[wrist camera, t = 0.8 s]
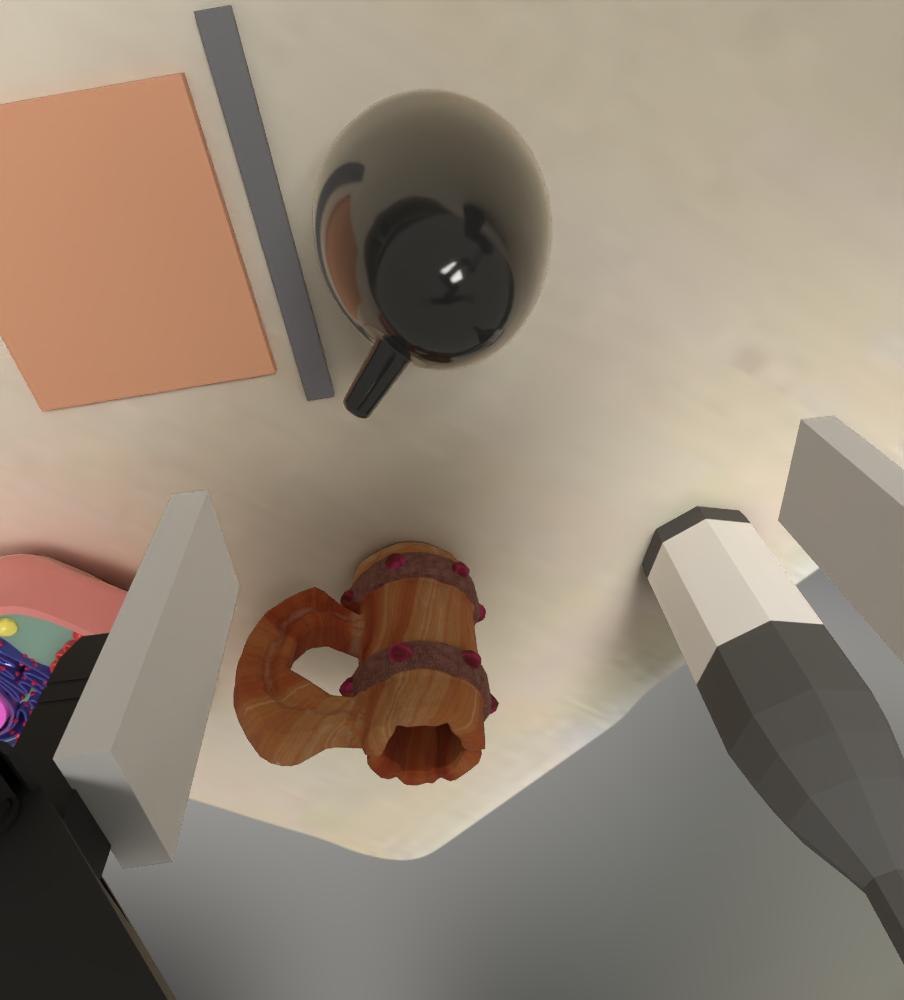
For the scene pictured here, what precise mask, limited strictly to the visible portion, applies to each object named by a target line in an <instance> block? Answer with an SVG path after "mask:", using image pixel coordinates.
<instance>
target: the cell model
mask: <svg viewBox="0 0 904 1000" xmlns="http://www.w3.org/2000/svg"><path fill="white" fill-rule="evenodd" d="M127 593H128V592H127V591H125V590H122V589H120V588H118V587H116V586H113V585H110V584H108V583H106V582H104V581H103V580H101V579H99V578H97V577H95V576H93V575H91V574H89V573H87V572H84V571H82V570H80V569H77V568H75V567H72V566H70V565H68V564H65V563H63V562H60V561H58V560H55V559H53V558H51V557H48V556H42V555H33V554H14V555H5V556H0V741H6V742H7V743H9V744H10V745H11V746H12V747H14V746H15V744H16V742H17V740H18V738H19V736H20V734H21V732H22V730H23V728H24V726H25V724H26V722H27V720H28V718H29V716H30V714H31V713H32V711H33V709H34V708H36V707H37V701H38V699H39V697H40V695H41V693H42V691H43V689H44V688H47V681H48V680H49V678H50V676H51V674H52V672H53V670H54V668H55V666H56V664H57V662H58V660H59V659H60V657H61V656H62V655H63V654H64V653H65V652H66V651H67V650H68V649H69V648H70V647H71V646H72V645H73V644H74V643H75V642H76V641H77V640H78V639H79V638H80V637H81V636H87V635H95V634H103V633H110V631H111V628H112V626H113V624H114V622H115V620H116V617H117V615H118V613H119V611H120V609H121V606H122V604H123V602H124V600H125V597H126V595H127Z"/></svg>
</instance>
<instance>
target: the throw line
mask: <svg viewBox="0 0 904 1000" xmlns="http://www.w3.org/2000/svg"><path fill="white" fill-rule="evenodd" d="M194 14H195V17H196V21H197V24H198V28H199V31H200V35H201V38H202V41H203V45H204V48H205V52H206V55H207V59H208V62H209V65H210V69H211V72H212V76H213V79H214V82H215V86H216V89H217V93H218V96H219V100H220V103H221V106H222V110H223V113H224V117H225V120H226V123H227V127H228V130H229V134H230V137H231V141H232V144H233V147H234V151H235V154H236V158H237V161H238V165H239V168H240V171H241V175H242V178H243V182H244V185H245V188H246V192H247V195H248V199H249V202H250V206H251V209H252V212H253V216H254V219H255V223H256V226H257V229H258V233H259V236H260V240H261V243H262V247H263V250H264V253H265V257H266V260H267V264H268V267H269V271H270V274H271V277H272V281H273V284H274V288H275V291H276V294H277V298H278V301H279V305H280V308H281V312H282V315H283V318H284V322H285V325H286V329H287V332H288V335H289V339H290V342H291V346H292V349H293V353H294V356H295V359H296V363H297V366H298V370H299V373H300V377H301V380H302V383H303V387H304V390H305V394H306V397H307V400H308V401H310V400H316V399H322V398H328V397H334V390H333V386H332V383H331V379H330V375H329V371H328V368H327V364H326V360H325V356H324V353H323V349H322V345H321V341H320V338H319V334H318V330H317V326H316V322H315V319H314V315H313V311H312V307H311V304H310V300H309V296H308V292H307V289H306V285H305V281H304V277H303V274H302V270H301V266H300V262H299V258H298V255H297V251H296V247H295V243H294V240H293V236H292V232H291V228H290V225H289V221H288V217H287V213H286V210H285V206H284V202H283V198H282V194H281V191H280V187H279V183H278V179H277V176H276V172H275V168H274V164H273V161H272V157H271V153H270V149H269V146H268V142H267V138H266V134H265V130H264V127H263V123H262V119H261V115H260V112H259V108H258V104H257V100H256V97H255V93H254V89H253V85H252V82H251V78H250V74H249V70H248V66H247V63H246V59H245V55H244V51H243V48H242V44H241V40H240V36H239V33H238V29H237V25H236V21H235V18H234V14H233V10H232V6H231V5H228V6H223V7H217V8H211V9H205V10H200V11H194Z"/></svg>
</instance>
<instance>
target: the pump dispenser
mask: <svg viewBox="0 0 904 1000" xmlns="http://www.w3.org/2000/svg"><path fill="white" fill-rule="evenodd" d="M313 232H314V240H315V246H316V251H317V256H318V260H319V264H320V268H321V271H322V274H323V277H324V280H325V282H326V285H327V287H328V289H329V291H330V293H331V296H332V297H333V299H334V301H335V303H336V305H337V306H338V308H339V309H340V311H341V312H342V314H343V315H344V317H345V318H346V319H347V321H348V322H349V323H350V324H351V326H352V327H353V328H354V329H355V330H356V331H357V332H358V333H359V334H360V335H361V336H362V337H363V338H364V339H365V340H366V341H368V342H369V343H370V344H371V345H373V346H372V348H371V350H370V352H369V354H368V355H367V357H366V359H365V361H364V363H363V365H362V367H361V368H360V370H359V372H358V374H357V376H356V378H355V380H354V381H353V383H352V385H351V387H350V389H349V391H348V392H347V394H346V396H345V398H344V401H343V403H344V406H345V408H346V409H347V410H348V411H349V412H350V413H352V414H353V415H355V416H356V417H359V418H368V417H369V416H370V415H371V414H372V412H373V411H374V410H375V408H376V407H377V406H378V404H379V403H380V402H381V400H382V399H383V398H384V396H385V395H386V394H387V392H388V391H389V390H390V388H391V387H392V386H393V384H394V383H395V382H396V381H397V379H398V378H399V377H400V375H401V374H402V373H403V371H404V370H405V369H406V367H407V366H408V365H413V366H416V367H420V368H425V369H432V370H452V369H459V368H463V367H467V366H470V365H473V364H476V363H478V362H481V361H483V360H485V359H486V358H488V357H490V356H492V355H493V354H495V353H496V352H498V351H499V350H500V349H502V348H503V347H504V346H505V345H506V344H507V343H508V342H509V341H510V340H511V339H512V338H513V337H514V336H515V335H516V334H517V333H518V332H519V330H520V329H521V328H522V327H523V325H524V324H525V322H526V321H527V319H528V318H529V316H530V314H531V312H532V310H533V308H534V306H535V304H536V302H537V300H538V297H539V295H540V292H541V290H542V287H543V284H544V281H545V277H546V274H547V270H548V265H549V260H550V254H551V246H552V217H551V209H550V202H549V197H548V193H547V189H546V185H545V181H544V178H543V175H542V172H541V170H540V167H539V165H538V163H537V161H536V159H535V157H534V155H533V153H532V151H531V149H530V148H529V146H528V145H527V143H526V142H525V140H524V139H523V138H522V136H521V135H520V134H519V133H518V131H517V130H516V129H515V128H514V127H513V126H512V125H511V124H510V123H509V122H508V121H507V120H506V119H505V118H504V117H502V116H501V115H500V114H499V113H497V112H496V111H495V110H493V109H492V108H490V107H489V106H487V105H485V104H484V103H482V102H480V101H478V100H476V99H474V98H471V97H469V96H466V95H463V94H460V93H456V92H452V91H447V90H439V89H419V90H411V91H406V92H402V93H398V94H395V95H392V96H389V97H387V98H385V99H382V100H380V101H378V102H377V103H375V104H373V105H371V106H370V107H368V108H367V109H365V110H364V111H363V112H361V113H360V114H359V115H358V116H356V117H355V118H354V119H353V120H352V121H351V122H350V123H349V124H348V125H347V126H346V127H345V128H344V130H343V131H342V132H341V133H340V135H339V136H338V137H337V139H336V140H335V142H334V143H333V145H332V147H331V148H330V150H329V152H328V154H327V156H326V158H325V160H324V163H323V165H322V168H321V170H320V173H319V177H318V180H317V184H316V189H315V194H314V202H313Z"/></svg>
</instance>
